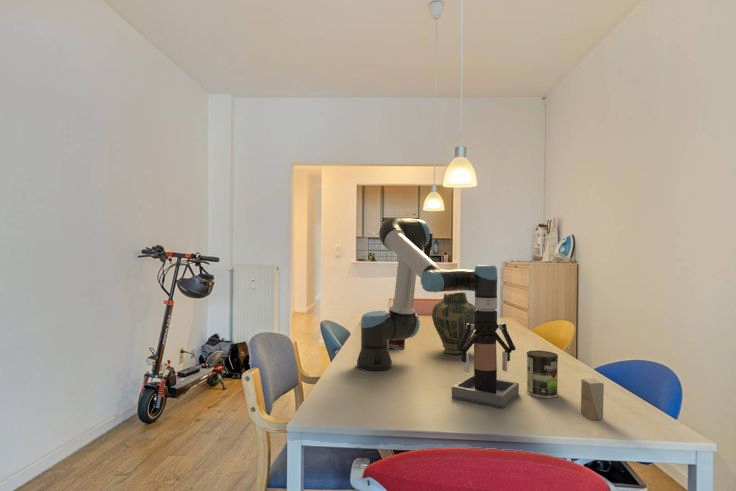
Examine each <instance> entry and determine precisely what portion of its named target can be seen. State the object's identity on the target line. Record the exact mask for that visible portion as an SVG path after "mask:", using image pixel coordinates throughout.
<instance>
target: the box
mask: <svg viewBox="0 0 736 491" xmlns="http://www.w3.org/2000/svg"><path fill="white" fill-rule="evenodd" d="M604 385H605V383H603V382H601V381H600V380H597V379H596V378H581V388H580V389H581V392H580V393H581V394H580V396H581V398H580V415H582V416H583V417H585V418H586V419H588V420H590V421H601V420H602V421H603V420H604V387H605V386H604Z"/></svg>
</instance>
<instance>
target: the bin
mask: <svg viewBox="0 0 736 491" xmlns="http://www.w3.org/2000/svg"><path fill="white" fill-rule="evenodd" d="M519 392H520V383H519V382H515V381H509V380H504V379H497V390H496V394H494V393H489V392H483V391H478V390H475V378H474V374H470V375H469V376H467V377H465V378H464V379H462V380H460V381H458V382H457V383H455V384H453V385H452V386H451V399H452V400H453V399H454V400H459V401H464V402H468V403H473V404H475V405H476V404H477V405H481V406H485V407H486V406H487V407H490V408H496V409H499V410H500V409H501V410H503V409H504V408H505V407H506V406H508V405H509V404H510V403H511V402H513V400H514V399H516V397H518V396H519V394H520V393H519Z"/></svg>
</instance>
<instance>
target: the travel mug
mask: <svg viewBox="0 0 736 491" xmlns="http://www.w3.org/2000/svg"><path fill="white" fill-rule="evenodd" d="M497 362H498V361H497V340H496V336H491V337H487V336H486V337H482V336H480V337H479V336H478V338H477V340H476V341H475V342H474V344H473V372H474V373H473V375H474V378H475V390H478V391H483V392H489V393H494V394H496V390H497V378H498V376H497V374H498V373H497V372H498V370H497V369H498V363H497Z"/></svg>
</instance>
